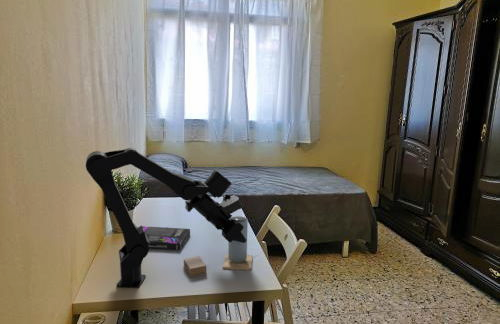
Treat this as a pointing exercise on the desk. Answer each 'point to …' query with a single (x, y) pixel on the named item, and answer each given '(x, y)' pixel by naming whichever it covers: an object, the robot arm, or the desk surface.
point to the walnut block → (194, 266)
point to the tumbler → (238, 243)
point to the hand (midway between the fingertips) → (241, 237)
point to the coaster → (238, 263)
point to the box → (166, 237)
